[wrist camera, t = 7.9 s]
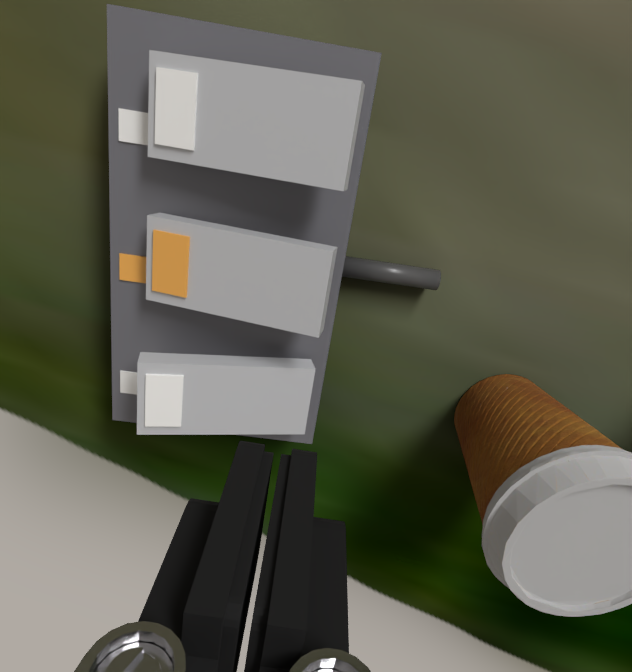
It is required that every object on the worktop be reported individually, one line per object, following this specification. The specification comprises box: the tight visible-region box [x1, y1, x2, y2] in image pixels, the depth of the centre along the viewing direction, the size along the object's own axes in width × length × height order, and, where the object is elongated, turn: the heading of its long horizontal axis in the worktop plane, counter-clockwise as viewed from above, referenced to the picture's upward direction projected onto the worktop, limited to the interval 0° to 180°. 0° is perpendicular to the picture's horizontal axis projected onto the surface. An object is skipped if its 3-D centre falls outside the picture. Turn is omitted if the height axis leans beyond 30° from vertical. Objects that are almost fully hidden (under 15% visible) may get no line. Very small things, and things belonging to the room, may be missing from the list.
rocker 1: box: [148, 50, 365, 191], centre depth 20 cm, size 9×4×1 cm, turn 80°
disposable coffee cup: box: [454, 374, 632, 617], centre depth 27 cm, size 10×10×12 cm
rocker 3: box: [137, 352, 316, 435], centre depth 25 cm, size 9×4×1 cm, turn 83°
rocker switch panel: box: [107, 4, 441, 444], centre depth 27 cm, size 18×21×4 cm
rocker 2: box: [146, 213, 337, 338], centre depth 23 cm, size 9×4×1 cm, turn 80°
